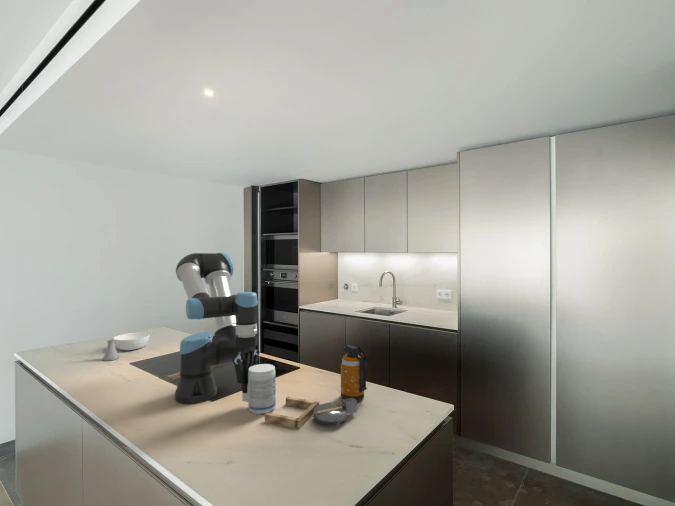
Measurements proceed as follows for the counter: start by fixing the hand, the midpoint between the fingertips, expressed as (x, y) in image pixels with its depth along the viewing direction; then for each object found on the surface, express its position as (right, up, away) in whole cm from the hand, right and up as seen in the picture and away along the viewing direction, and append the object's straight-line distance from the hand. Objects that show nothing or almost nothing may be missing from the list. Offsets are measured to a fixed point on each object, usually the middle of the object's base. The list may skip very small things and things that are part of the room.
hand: (246, 400), depth 126 cm
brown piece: (+17, -2, -6) cm, 18 cm away
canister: (+39, -2, +7) cm, 40 cm away
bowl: (-86, -2, +76) cm, 115 cm away
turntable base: (+30, -2, -10) cm, 32 cm away
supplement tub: (+6, -2, -2) cm, 7 cm away
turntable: (+32, -1, -9) cm, 33 cm away
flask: (-85, -2, +56) cm, 102 cm away
